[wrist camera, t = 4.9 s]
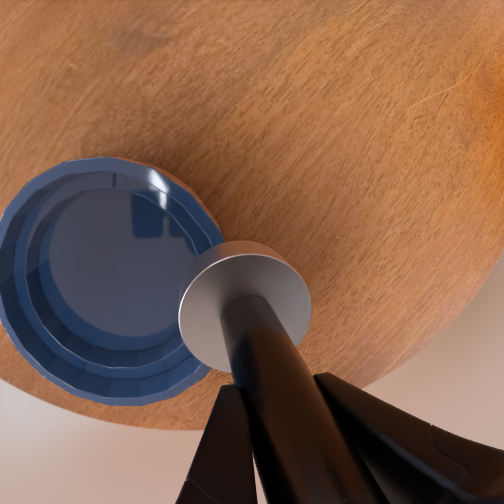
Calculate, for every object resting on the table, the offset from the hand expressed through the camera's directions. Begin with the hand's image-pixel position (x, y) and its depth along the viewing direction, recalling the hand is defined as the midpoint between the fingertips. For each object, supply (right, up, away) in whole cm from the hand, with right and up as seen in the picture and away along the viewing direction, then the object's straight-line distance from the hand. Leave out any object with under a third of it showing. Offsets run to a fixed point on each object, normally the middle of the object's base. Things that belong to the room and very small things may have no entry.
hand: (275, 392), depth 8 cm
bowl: (-9, +2, +11) cm, 15 cm away
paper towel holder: (-1, +2, +6) cm, 6 cm away
